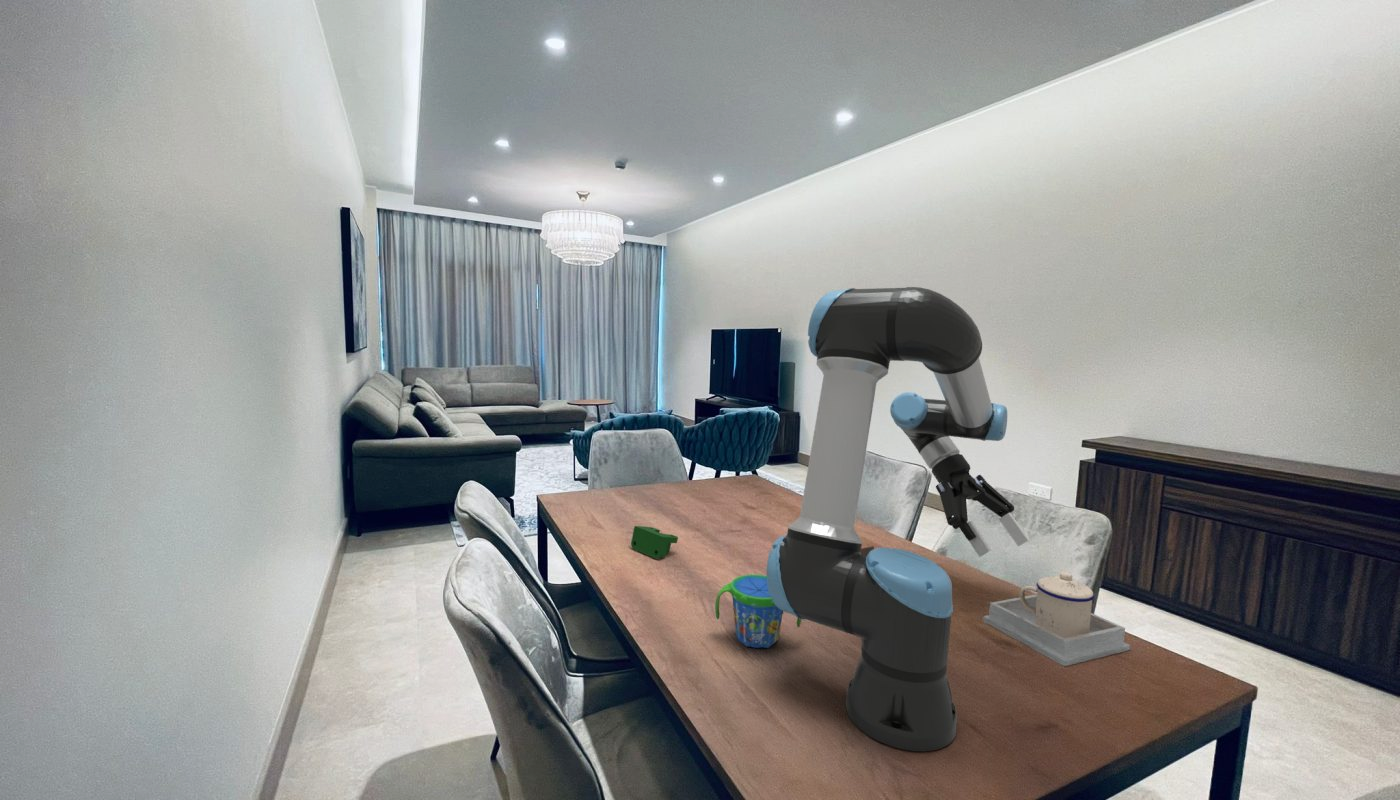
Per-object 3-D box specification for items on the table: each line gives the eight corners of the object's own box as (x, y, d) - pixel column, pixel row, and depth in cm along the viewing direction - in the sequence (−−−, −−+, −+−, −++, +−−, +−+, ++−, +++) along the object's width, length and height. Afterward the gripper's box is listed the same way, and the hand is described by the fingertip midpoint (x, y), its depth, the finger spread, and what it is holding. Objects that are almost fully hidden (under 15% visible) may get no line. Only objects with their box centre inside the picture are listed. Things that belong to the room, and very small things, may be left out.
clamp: (667, 571, 144) (684, 542, 143) (650, 571, 140) (667, 541, 138) (643, 541, 152) (659, 513, 151) (626, 540, 148) (642, 512, 146)
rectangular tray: (1064, 666, 97) (1066, 644, 97) (982, 620, 113) (984, 601, 113) (1129, 650, 104) (1131, 629, 103) (1043, 609, 119) (1045, 590, 119)
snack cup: (801, 631, 107) (804, 579, 106) (798, 661, 96) (801, 603, 96) (720, 620, 110) (722, 569, 109) (708, 647, 100) (710, 592, 99)
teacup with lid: (1095, 634, 107) (1101, 574, 106) (1082, 651, 101) (1088, 588, 100) (1025, 611, 116) (1029, 556, 114) (1009, 626, 109) (1014, 567, 108)
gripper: (968, 466, 136) (1025, 547, 125) (897, 476, 123) (954, 566, 112) (990, 448, 131) (1052, 530, 120) (919, 456, 118) (981, 549, 107)
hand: (1005, 548), depth 116 cm, fingers open, 13 cm apart
